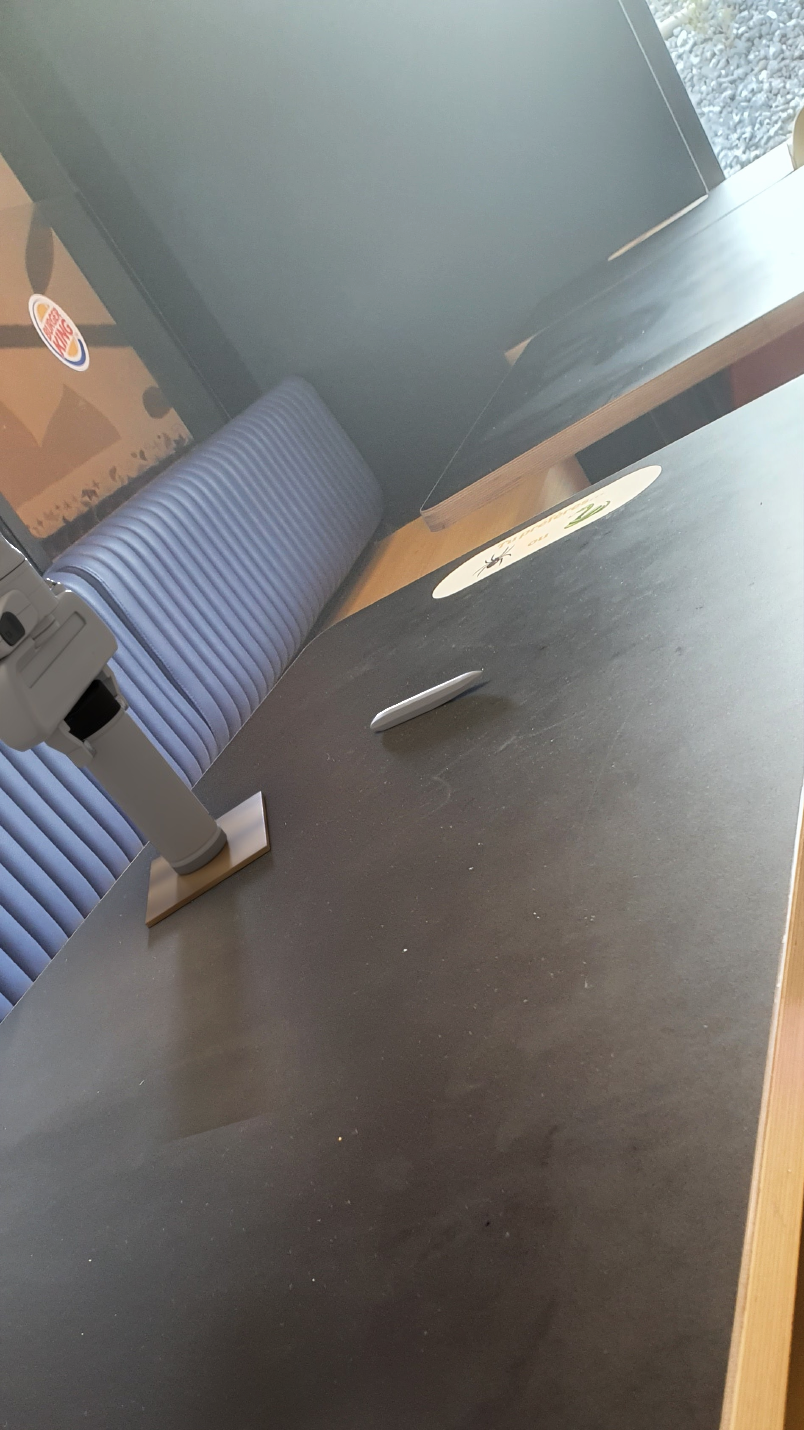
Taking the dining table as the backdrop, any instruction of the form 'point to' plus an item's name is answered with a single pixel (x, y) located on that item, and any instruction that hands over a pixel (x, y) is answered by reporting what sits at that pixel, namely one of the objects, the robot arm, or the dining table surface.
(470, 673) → the pen
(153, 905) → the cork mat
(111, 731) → the travel mug
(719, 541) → the dining table surface
